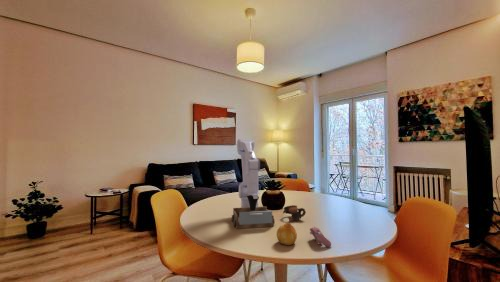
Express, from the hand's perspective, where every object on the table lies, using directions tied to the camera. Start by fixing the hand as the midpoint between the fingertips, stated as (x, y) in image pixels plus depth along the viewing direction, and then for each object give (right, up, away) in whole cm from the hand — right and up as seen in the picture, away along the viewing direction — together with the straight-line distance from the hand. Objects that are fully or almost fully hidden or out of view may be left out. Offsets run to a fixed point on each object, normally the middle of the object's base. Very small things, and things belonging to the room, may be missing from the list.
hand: (252, 210), depth 117 cm
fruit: (+13, -6, -24) cm, 28 cm away
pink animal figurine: (+27, -6, -24) cm, 36 cm away
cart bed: (0, -6, 0) cm, 6 cm away
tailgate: (+1, -4, -7) cm, 8 cm away
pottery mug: (+22, -7, +7) cm, 24 cm away
